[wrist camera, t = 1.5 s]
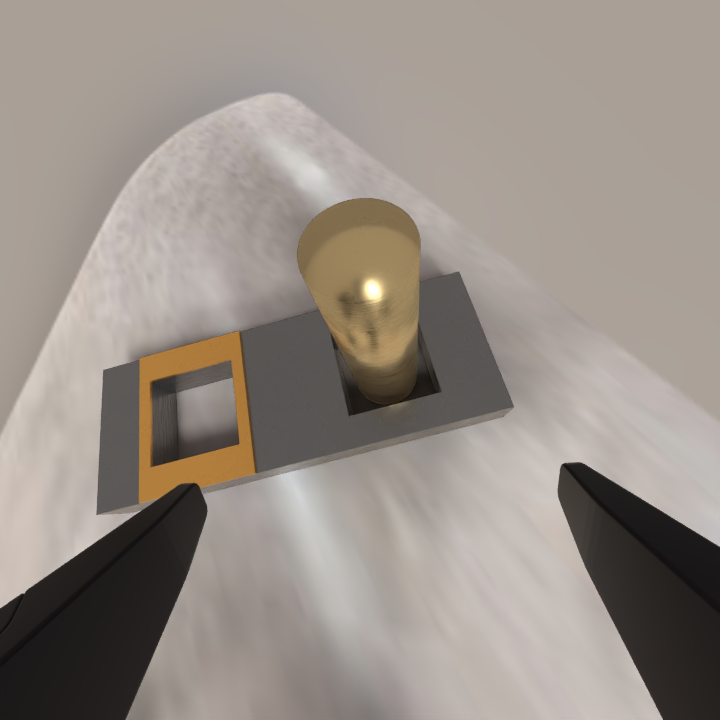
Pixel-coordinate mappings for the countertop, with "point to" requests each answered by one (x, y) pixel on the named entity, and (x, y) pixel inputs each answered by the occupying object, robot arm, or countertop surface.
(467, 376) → the hole rail
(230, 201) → the countertop surface
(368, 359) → the brass peg
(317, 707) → the countertop surface
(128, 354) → the countertop surface
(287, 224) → the countertop surface
